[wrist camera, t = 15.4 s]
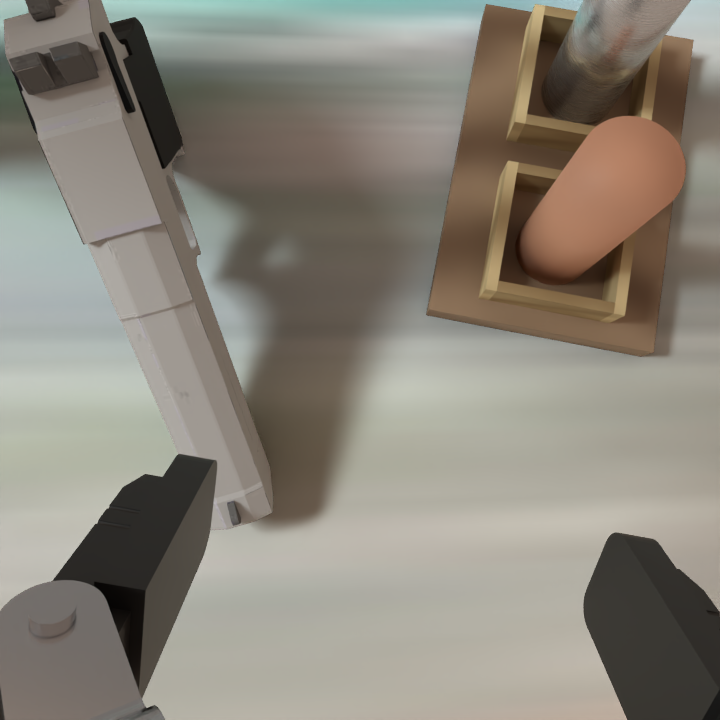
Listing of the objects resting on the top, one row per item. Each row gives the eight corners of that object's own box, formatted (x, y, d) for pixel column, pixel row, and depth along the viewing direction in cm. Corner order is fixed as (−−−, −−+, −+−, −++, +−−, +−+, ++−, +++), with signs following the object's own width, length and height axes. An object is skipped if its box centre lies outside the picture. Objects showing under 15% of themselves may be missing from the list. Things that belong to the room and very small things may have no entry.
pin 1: (526, 91, 35) (590, -48, 25) (576, 47, 35) (659, -108, 25) (578, 140, 34) (664, 18, 25) (628, 94, 35) (733, -44, 25)
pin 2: (499, 247, 33) (556, 162, 24) (551, 198, 34) (629, 95, 24) (554, 300, 33) (635, 236, 23) (606, 250, 33) (707, 166, 24)
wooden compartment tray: (641, 356, 34) (672, 346, 31) (426, 314, 34) (433, 300, 31) (680, 56, 37) (712, 16, 33) (481, 21, 37) (493, -22, 34)
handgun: (138, -14, 33) (35, -129, 19) (278, 401, 43) (277, 523, 29) (71, 3, 33) (-83, -100, 19) (227, 416, 43) (202, 544, 29)
